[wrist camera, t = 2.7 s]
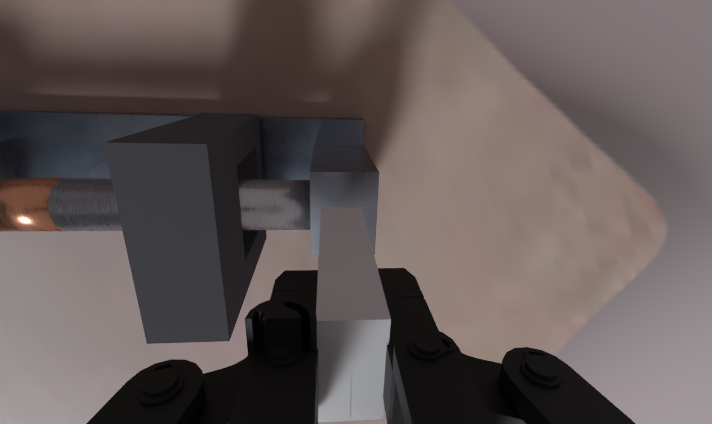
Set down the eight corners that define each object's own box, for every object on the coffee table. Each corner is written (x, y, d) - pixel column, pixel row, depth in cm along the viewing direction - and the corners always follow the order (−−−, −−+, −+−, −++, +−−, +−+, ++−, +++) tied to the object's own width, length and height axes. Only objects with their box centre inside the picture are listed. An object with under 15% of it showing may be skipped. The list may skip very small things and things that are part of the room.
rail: (-8, 225, 22) (-157, 292, 15) (-49, 109, 20) (-249, 126, 13) (359, 224, 24) (372, 282, 17) (362, 118, 22) (380, 137, 15)
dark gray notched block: (217, 237, 22) (147, 343, 13) (203, 113, 20) (103, 142, 11) (266, 237, 22) (229, 340, 14) (258, 114, 20) (206, 144, 11)
